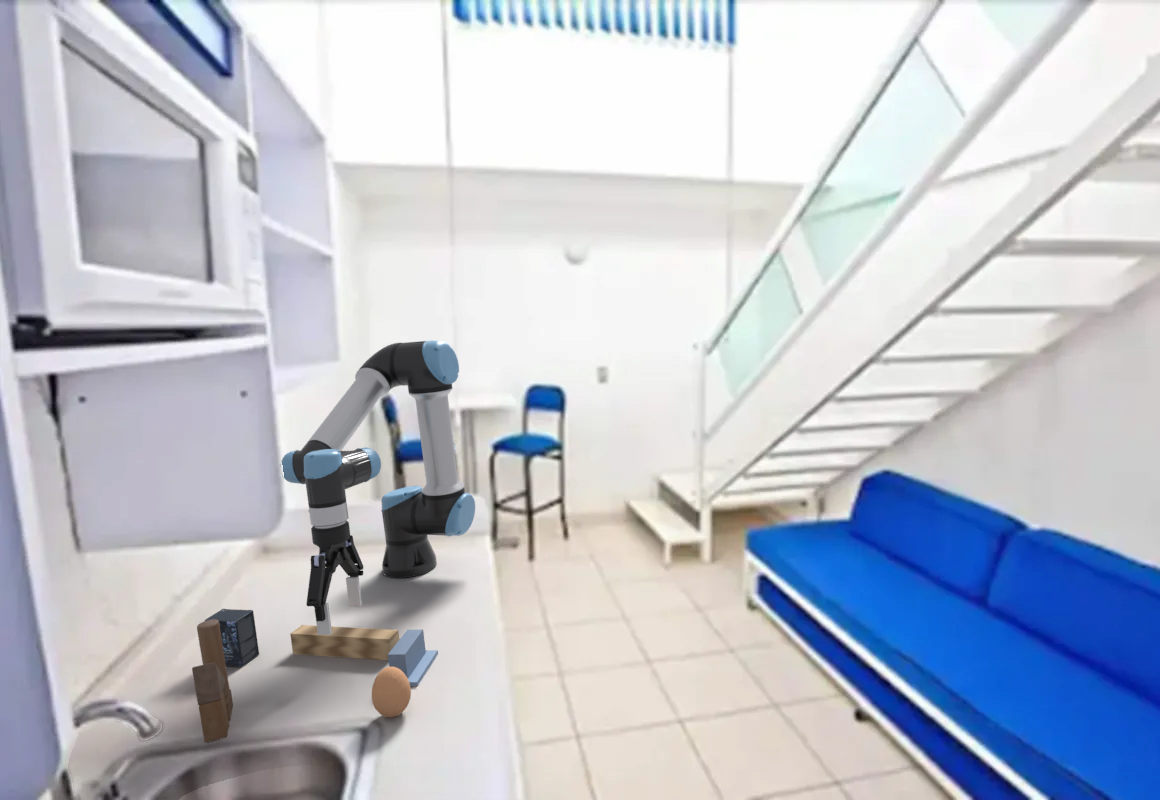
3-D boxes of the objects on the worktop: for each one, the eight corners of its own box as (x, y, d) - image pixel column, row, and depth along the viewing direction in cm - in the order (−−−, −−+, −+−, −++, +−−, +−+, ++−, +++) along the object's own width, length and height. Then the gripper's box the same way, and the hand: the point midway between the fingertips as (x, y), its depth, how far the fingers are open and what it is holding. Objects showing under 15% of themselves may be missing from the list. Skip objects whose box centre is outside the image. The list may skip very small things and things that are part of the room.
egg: (367, 717, 118) (361, 671, 117) (399, 699, 123) (394, 654, 121) (387, 731, 113) (381, 683, 112) (420, 711, 118) (415, 665, 117)
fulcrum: (401, 654, 139) (398, 627, 139) (438, 653, 138) (435, 627, 138) (378, 686, 128) (374, 657, 127) (417, 686, 127) (414, 656, 126)
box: (210, 666, 140) (203, 619, 139) (230, 652, 146) (223, 607, 145) (242, 668, 139) (234, 621, 137) (260, 654, 144) (253, 608, 143)
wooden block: (204, 744, 113) (188, 646, 111) (212, 711, 123) (197, 621, 121) (227, 737, 115) (212, 641, 112) (234, 705, 125) (220, 616, 122)
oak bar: (293, 655, 143) (290, 633, 143) (305, 645, 147) (302, 624, 146) (391, 661, 137) (388, 639, 137) (401, 651, 141) (398, 630, 140)
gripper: (341, 507, 151) (351, 595, 153) (279, 543, 126) (292, 647, 129) (372, 506, 150) (381, 594, 153) (315, 542, 126) (328, 647, 128)
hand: (341, 619), depth 141 cm, fingers open, 13 cm apart
